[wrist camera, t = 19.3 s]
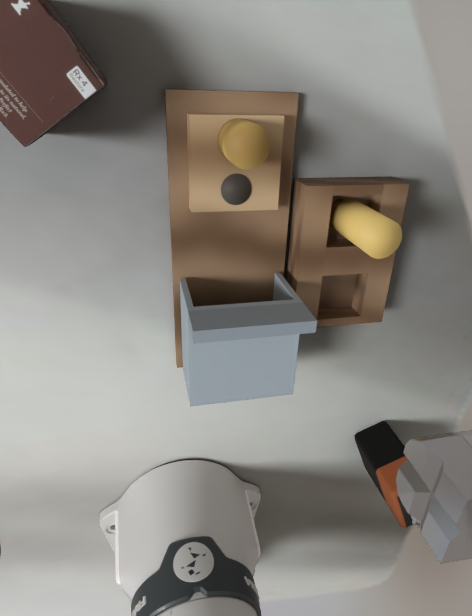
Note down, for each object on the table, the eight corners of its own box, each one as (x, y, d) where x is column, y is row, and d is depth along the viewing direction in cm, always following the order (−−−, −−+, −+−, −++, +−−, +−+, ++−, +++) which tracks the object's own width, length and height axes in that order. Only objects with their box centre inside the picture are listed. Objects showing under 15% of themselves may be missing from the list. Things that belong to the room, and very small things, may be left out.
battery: (364, 467, 57) (407, 538, 48) (352, 433, 53) (395, 503, 44) (395, 453, 57) (443, 521, 48) (384, 418, 53) (434, 484, 45)
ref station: (274, 353, 45) (292, 388, 40) (176, 362, 43) (182, 400, 38) (295, 92, 34) (324, 95, 29) (164, 89, 32) (171, 91, 27)
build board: (366, 307, 45) (381, 321, 42) (282, 314, 43) (292, 329, 41) (391, 176, 39) (409, 184, 36) (294, 178, 37) (306, 186, 35)
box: (-25, 54, 29) (-68, 47, 23) (46, -5, 28) (23, -28, 22) (44, 135, 32) (24, 150, 26) (110, 84, 31) (106, 86, 25)
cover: (273, 356, 44) (304, 417, 36) (182, 365, 42) (195, 431, 34) (280, 272, 40) (317, 320, 32) (179, 278, 38) (192, 331, 30)
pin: (354, 231, 40) (395, 260, 33) (323, 229, 39) (359, 257, 33) (363, 198, 38) (407, 221, 32) (331, 195, 37) (370, 218, 31)
